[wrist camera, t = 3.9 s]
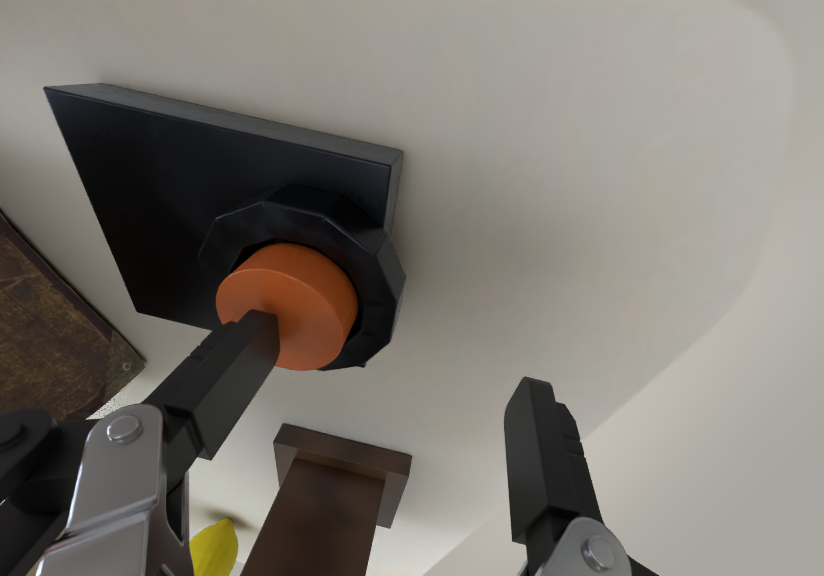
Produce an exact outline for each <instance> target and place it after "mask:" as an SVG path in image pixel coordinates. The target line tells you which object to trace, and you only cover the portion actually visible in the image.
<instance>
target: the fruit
mask: <svg viewBox="0 0 824 576" xmlns="http://www.w3.org/2000/svg"><path fill="white" fill-rule="evenodd" d="M189 543H190V552H191V557H192V561H193V567H194V576H229V574H230V572H231V570H232V569H233V566H234V564H235V561H236V557H237V553H238V540H237V536H236V534H235V531H234V528H233V522H232V520H231V519H228V518H224V519H222V520H220V521H219V522H218V523H216V524H214V525H212V526H209V527H207V528H205V529H204V530H202V531H201V532H200V533H198V534H197V535H196V536H195V537H194V538H193V539H192V540H191V541H190V542H189Z"/></svg>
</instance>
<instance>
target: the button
mask: <svg viewBox="0 0 824 576" xmlns="http://www.w3.org/2000/svg"><path fill="white" fill-rule="evenodd" d="M216 308H217V312H218V316H219V318H220V320H221V322H222V324H223V325H224V324H225V323H227V322H229V321H234V322H238V321H239V320H240V319H241V318H242V317H243V316H244V315H245V314H246V313H247V312H248V311H249V310H251V309H255V310H259V311H263V312H267V313H272V314H275V315H276V316H277V318H278V327H279V338H280V353H279V357H278V360H277V362H276V364H275V366H278V367H281V368H285V369H290V370H302V371H305V370H314V369H318V368H321V367H324V366H326V365H328V364H329V363H331V362H332V361H333V360H334V359H335V358H336V357H337V356H338V355H339V353H340V351H341V349H342V347H343V345H344V343H345V341H346V338H347V336H348V334H349V332H350V330H351V328H352V325H353V323H354V321H355V319H356V316H357V312H358V301H357V295H356V292H355V289H354V287H353V285H352V283H351V281H350V280H349V278H348V276H347V275H346V274H345V273H344V271H343V270H342V269H341V268H340V267H339V266H338V265H337V264H336V263H334V262H333V261H332V260H331V259H329V258H328V257H326V256H325V255H323V254H322V253H320V252H318V251H316V250H314V249H311V248H309V247H306V246H302V245H298V244H292V243H277V244H272V245H268V246H265V247H263V248H261V249H259V250H258V251H256V252H255V253H254V254H253V255H252V256H251V257H249V258H248V259H247V260H246V261H245V262H244V263H243V264H241V265H240V266H239V267H238V268H237V269H236V270H235V271H233V272H232V273H231V274H230V275H229V276H228V277H227V278H226V279H224V280H223V282H222V283H221V284H220V286H219V288H218V291H217V295H216Z"/></svg>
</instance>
